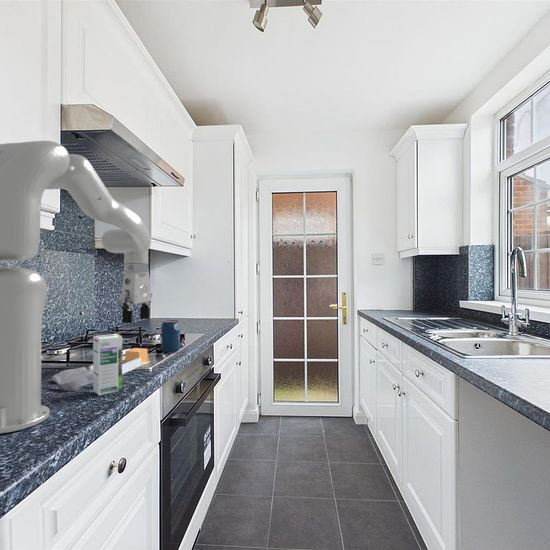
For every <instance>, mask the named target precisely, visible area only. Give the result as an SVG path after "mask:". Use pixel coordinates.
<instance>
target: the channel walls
mask: <svg viewBox="0 0 550 550" xmlns="http://www.w3.org/2000/svg"><path fill="white" fill-rule="evenodd" d="M137 367H138V368H139V367H142V366H141V358H137V359H135V360H132V361H130V362H127V363H125V364H122V375H124V374H126V373H129V372H130V371H133V370H135V369H137ZM88 369H93V364H91V365H90V366H88Z"/></svg>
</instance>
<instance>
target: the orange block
mask: <svg viewBox="0 0 550 550" xmlns="http://www.w3.org/2000/svg"><path fill="white" fill-rule="evenodd" d="M148 350H149V349H148V348H139V347H133V348H130V349H127V350H125V351H124V353H125V358H124V360H125V363H127V362H130V361H132V360H135V359H137V358H141V363H143V362H145V361H149V360H148V357H149V355H148Z"/></svg>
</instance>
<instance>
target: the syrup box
mask: <svg viewBox="0 0 550 550" xmlns="http://www.w3.org/2000/svg"><path fill="white" fill-rule="evenodd" d="M92 343H93V344H92V354H93V355H92V356H93V361H92V362H93V363H92V365H93V383H92V384H93V391H94V392H95V394H97V396H98V397H100V396H103V395H108V394H109V395H110V394H114V393H119V392H122V391H123V389H122V388H123V374H122V362H123V336H122V335H121V334H119V333H113V334H101V335H93V337H92Z"/></svg>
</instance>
